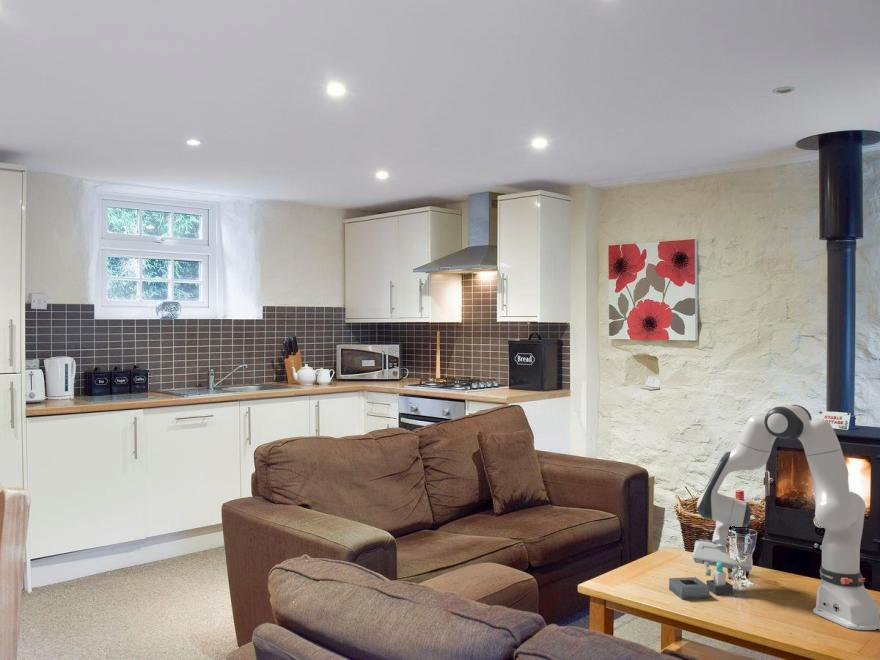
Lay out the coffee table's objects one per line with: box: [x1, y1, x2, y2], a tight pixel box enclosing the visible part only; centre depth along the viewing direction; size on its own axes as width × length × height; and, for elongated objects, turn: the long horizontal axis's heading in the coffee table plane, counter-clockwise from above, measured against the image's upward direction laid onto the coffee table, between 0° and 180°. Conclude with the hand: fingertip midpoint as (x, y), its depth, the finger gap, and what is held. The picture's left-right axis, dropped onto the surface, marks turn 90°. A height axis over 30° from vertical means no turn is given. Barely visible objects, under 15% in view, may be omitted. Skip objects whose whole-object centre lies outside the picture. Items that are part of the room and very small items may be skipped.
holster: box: [706, 579, 734, 596], centre depth 267 cm, size 6×6×3 cm
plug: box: [712, 562, 727, 585], centre depth 267 cm, size 3×3×10 cm
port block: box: [668, 576, 710, 600], centre depth 264 cm, size 10×10×4 cm
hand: (719, 576), depth 266 cm, fingers open, 6 cm apart
